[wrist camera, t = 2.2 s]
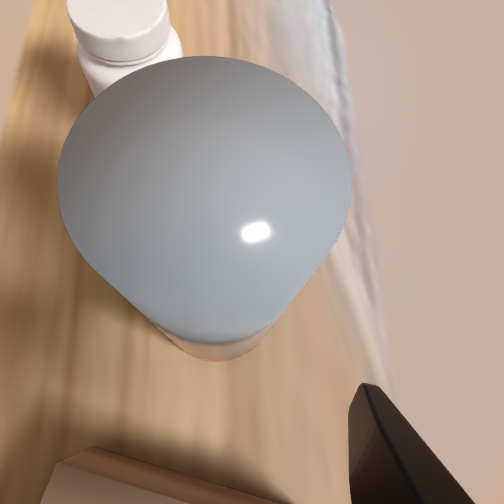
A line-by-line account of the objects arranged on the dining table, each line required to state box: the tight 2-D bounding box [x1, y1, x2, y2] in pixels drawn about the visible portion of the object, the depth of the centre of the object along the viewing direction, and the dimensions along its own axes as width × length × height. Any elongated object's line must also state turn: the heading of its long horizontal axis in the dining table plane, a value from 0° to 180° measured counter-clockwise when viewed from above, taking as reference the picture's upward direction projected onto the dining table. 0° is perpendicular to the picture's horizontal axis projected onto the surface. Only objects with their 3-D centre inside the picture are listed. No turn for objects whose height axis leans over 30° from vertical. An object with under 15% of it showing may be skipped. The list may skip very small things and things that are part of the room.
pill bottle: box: [66, 0, 183, 98], centre depth 19 cm, size 5×5×8 cm
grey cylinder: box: [57, 56, 352, 361], centre depth 14 cm, size 6×6×13 cm
